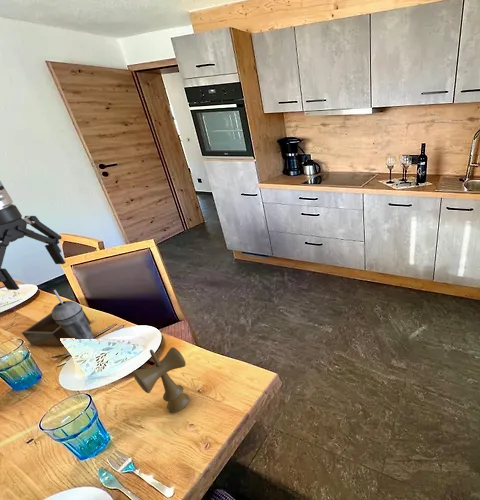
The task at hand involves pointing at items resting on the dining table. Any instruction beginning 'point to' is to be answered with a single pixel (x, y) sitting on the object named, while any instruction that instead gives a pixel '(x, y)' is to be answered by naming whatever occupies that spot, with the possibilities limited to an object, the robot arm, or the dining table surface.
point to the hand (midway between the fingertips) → (38, 275)
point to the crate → (46, 332)
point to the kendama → (164, 379)
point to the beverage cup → (71, 319)
